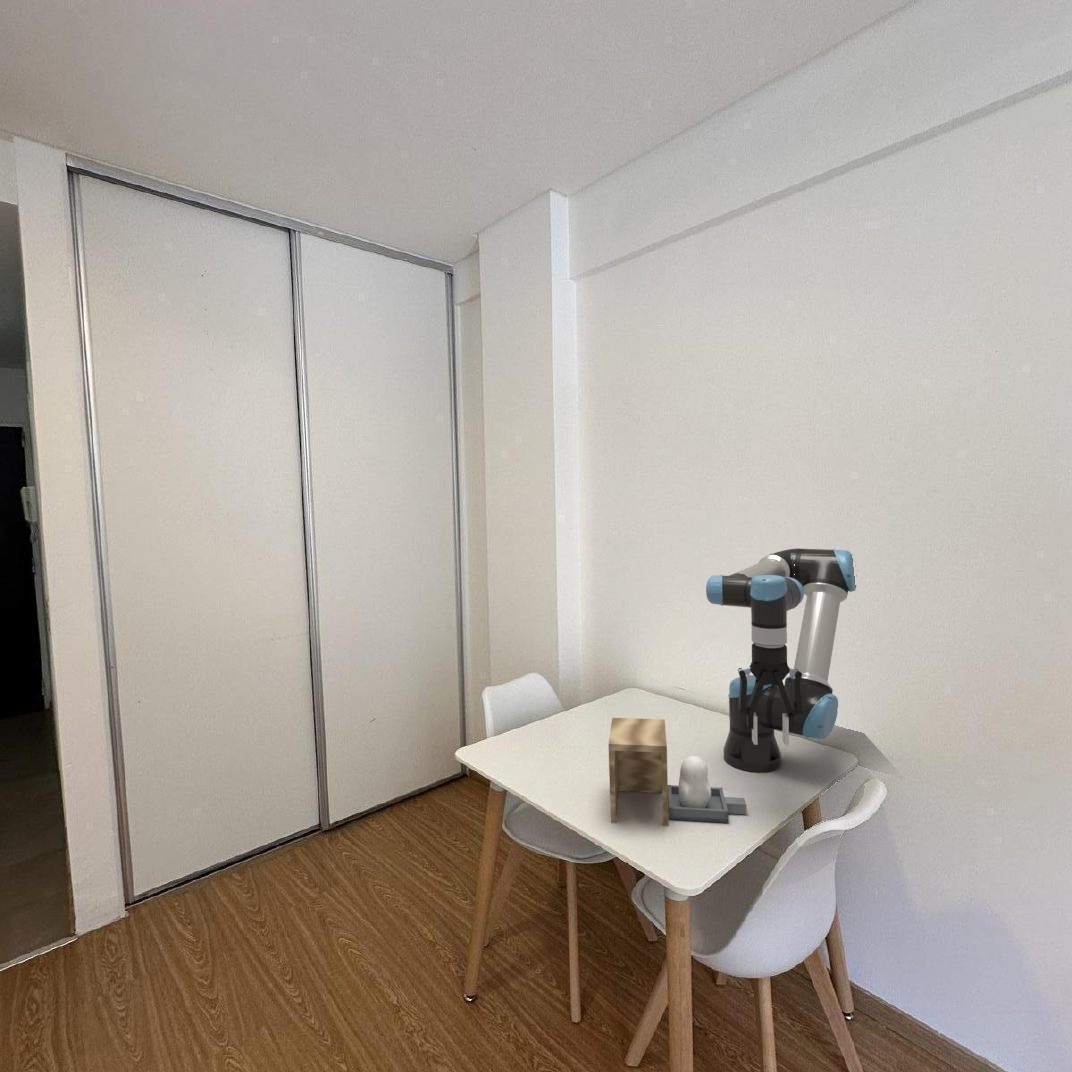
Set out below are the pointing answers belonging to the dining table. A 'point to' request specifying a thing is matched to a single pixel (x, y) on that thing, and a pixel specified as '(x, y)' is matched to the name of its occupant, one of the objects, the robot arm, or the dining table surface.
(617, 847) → the dining table surface
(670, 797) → the tray
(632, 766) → the box
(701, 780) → the figurine
